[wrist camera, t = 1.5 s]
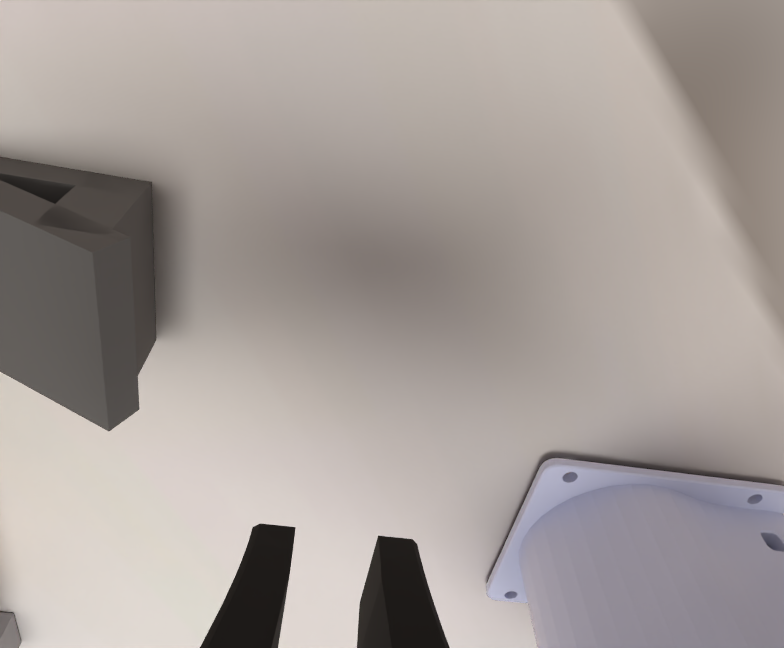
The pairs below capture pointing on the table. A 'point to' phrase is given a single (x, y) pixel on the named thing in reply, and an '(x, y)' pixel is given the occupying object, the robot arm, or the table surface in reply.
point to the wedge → (76, 286)
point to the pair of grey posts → (8, 631)
